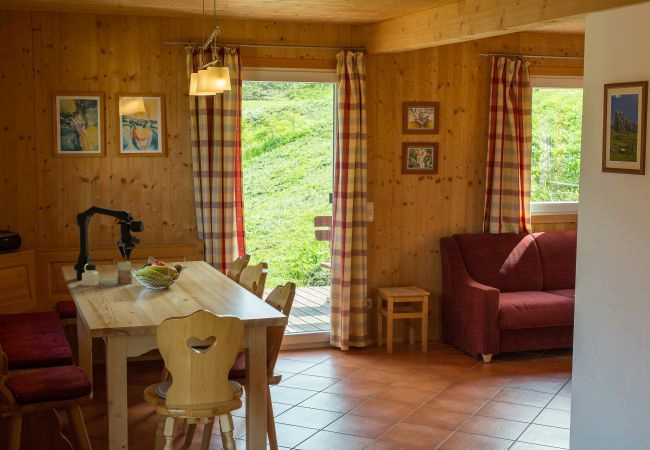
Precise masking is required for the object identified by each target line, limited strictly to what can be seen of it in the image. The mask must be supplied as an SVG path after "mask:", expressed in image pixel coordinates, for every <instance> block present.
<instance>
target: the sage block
mask: <svg viewBox="0 0 650 450" xmlns="http://www.w3.org/2000/svg"><path fill="white" fill-rule="evenodd" d="M118 269H119V270H132V262H130V261H117V270H118Z"/></svg>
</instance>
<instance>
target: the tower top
mask: <svg viewBox="0 0 650 450" xmlns="http://www.w3.org/2000/svg"><path fill="white" fill-rule="evenodd" d="M131 270H132V269H131ZM131 270H119V269H118V268H117V271H118V272H117V274H118V275H117V276H119V277H132V271H131Z"/></svg>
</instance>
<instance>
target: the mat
mask: <svg viewBox="0 0 650 450" xmlns="http://www.w3.org/2000/svg"><path fill="white" fill-rule="evenodd" d="M99 284H100V285H101V286H104V287H117V286H129V285H131V286H132V285H133V286H134V285H135V283H134V282H132V284H123V285H122V284H118V283H117V279H116V278H114V279H100V280H99Z"/></svg>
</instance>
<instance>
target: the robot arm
mask: <svg viewBox="0 0 650 450" xmlns="http://www.w3.org/2000/svg"><path fill="white" fill-rule="evenodd" d="M96 214H98V215H105V216H109V217H113V218H115V219H116V220H117V219H118V222H116V225H119V227H120V229H119V232H120V233H119V236H120V237H119V238H120V239H119V240H116V242H115V245H116V247H117V248H118V252H119V253H120V255H121V258H122V259H125V258H126V260H127V261H129V260H130V257H131V255H132V251H133V250H134V249H135V248H136V244H137V245H140V242H141V238H138V237H137V236H136V235H132V233H144V229H145V227H144V223H143V220H136V219H134V217H133V215H132V212H131V211H130V210H127V209H126V210H125V209H123V210H122V209H119V210H118V209H113V208H112V209H111V208H108V207H103V206H102V207H101V206H98V205H93V206H91V207H89V208H88V209H86V210H84V211H82V212H79V213H78V214H77V215H76V222H77V225H78V227H79V254H78V257H77V262H76V264H75V265H74V266H73V270H74V271H75V275H76V277H75V278H74V280H76V281H82V273H85V265H86V264H92V262H93V259H92V257H93V254H90V252H89V226H90V222H91V218H92V217H93V216H94V215H96ZM131 232H132V233H131Z"/></svg>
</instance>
